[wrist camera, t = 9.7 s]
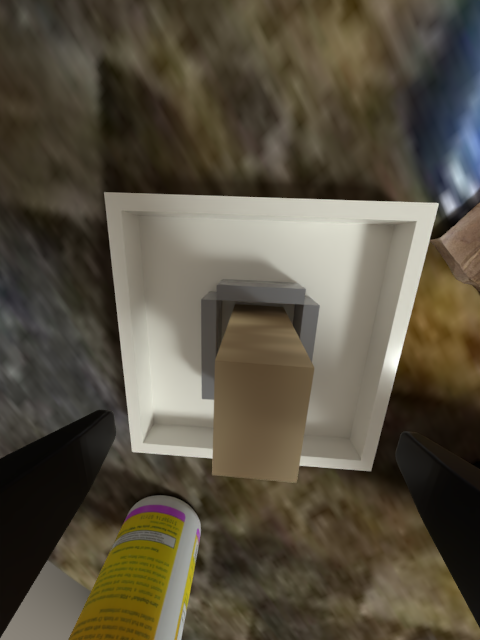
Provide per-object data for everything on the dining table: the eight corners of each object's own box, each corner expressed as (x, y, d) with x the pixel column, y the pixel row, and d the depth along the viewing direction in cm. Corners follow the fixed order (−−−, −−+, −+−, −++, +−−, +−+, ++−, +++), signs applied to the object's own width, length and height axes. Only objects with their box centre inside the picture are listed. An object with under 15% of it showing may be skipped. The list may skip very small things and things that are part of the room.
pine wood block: (283, 306, 15) (314, 367, 7) (276, 371, 16) (296, 482, 8) (235, 303, 15) (215, 360, 7) (232, 368, 16) (212, 475, 9)
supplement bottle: (115, 504, 21) (-73, 850, 9) (177, 481, 20) (57, 844, 8) (156, 551, 23) (42, 904, 11) (216, 533, 22) (166, 906, 9)
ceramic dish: (405, 211, 13) (448, 200, 10) (355, 441, 18) (375, 479, 15) (129, 201, 14) (96, 189, 11) (147, 426, 19) (127, 459, 16)
